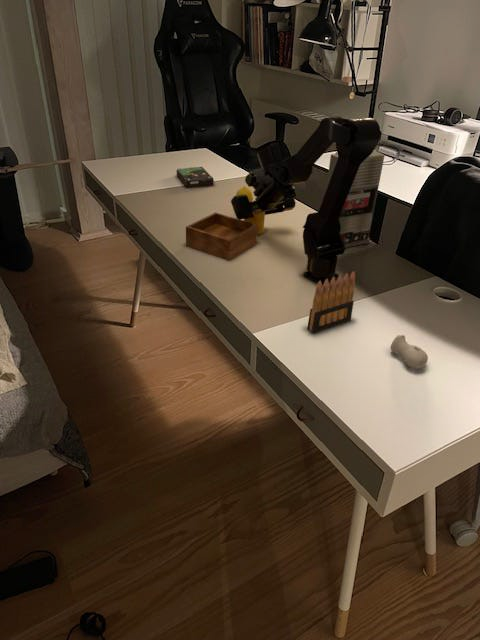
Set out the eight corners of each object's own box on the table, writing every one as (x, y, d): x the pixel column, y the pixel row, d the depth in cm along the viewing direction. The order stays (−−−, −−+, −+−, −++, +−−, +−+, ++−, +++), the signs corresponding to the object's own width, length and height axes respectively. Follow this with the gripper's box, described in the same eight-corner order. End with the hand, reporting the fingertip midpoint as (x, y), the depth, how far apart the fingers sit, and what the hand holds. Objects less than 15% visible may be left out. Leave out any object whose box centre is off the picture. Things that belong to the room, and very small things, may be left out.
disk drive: (214, 186, 181) (202, 173, 193) (214, 178, 180) (202, 166, 191) (186, 188, 178) (175, 175, 190) (186, 180, 177) (175, 167, 188)
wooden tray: (256, 243, 142) (258, 224, 139) (229, 260, 132) (229, 240, 129) (215, 229, 148) (215, 212, 145) (186, 245, 139) (185, 226, 136)
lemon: (250, 215, 159) (251, 190, 155) (233, 213, 160) (234, 188, 156) (253, 208, 164) (255, 184, 159) (237, 207, 165) (237, 183, 160)
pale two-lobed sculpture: (427, 374, 97) (409, 373, 95) (401, 350, 103) (383, 349, 101) (438, 356, 95) (420, 355, 93) (411, 332, 101) (393, 331, 99)
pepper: (267, 233, 148) (269, 204, 143) (247, 235, 146) (248, 205, 141) (259, 225, 153) (261, 196, 148) (240, 227, 151) (241, 198, 146)
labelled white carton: (330, 252, 139) (344, 160, 125) (318, 243, 143) (330, 154, 130) (369, 243, 144) (387, 155, 131) (356, 235, 149) (372, 149, 135)
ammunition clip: (312, 333, 105) (319, 283, 99) (306, 329, 107) (313, 279, 100) (350, 320, 110) (360, 272, 104) (345, 316, 111) (354, 268, 105)
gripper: (293, 159, 139) (269, 186, 153) (235, 167, 131) (215, 195, 145) (307, 196, 138) (281, 220, 152) (249, 206, 130) (227, 230, 144)
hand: (251, 215), depth 148 cm, fingers closed on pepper, 6 cm apart
